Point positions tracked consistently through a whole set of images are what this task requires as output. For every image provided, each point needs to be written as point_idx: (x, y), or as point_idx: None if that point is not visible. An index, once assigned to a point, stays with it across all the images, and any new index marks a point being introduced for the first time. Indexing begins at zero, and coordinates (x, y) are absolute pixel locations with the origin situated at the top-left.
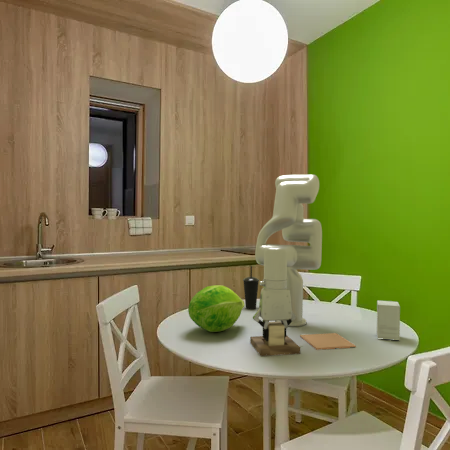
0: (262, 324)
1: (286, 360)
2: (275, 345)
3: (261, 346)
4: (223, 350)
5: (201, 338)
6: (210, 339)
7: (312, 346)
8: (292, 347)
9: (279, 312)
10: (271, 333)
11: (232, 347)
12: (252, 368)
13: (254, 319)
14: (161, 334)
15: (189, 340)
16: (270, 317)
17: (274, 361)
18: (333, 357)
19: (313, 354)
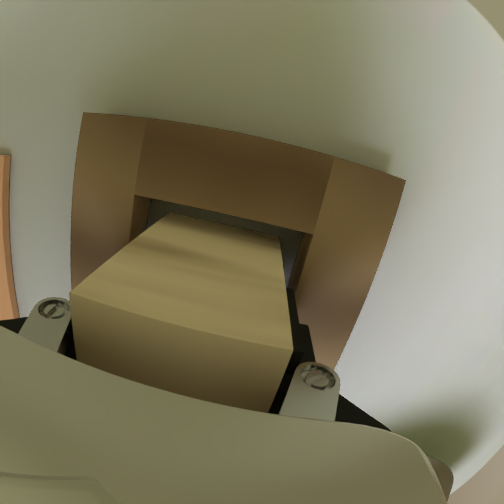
0: (347, 417)
1: (262, 36)
2: (228, 238)
3: (362, 242)
4: (480, 333)
5: (437, 452)
6: (423, 444)
7: (8, 207)
8: (134, 125)
9: (25, 493)
10: (263, 292)
11: (428, 359)
12: (491, 56)
13: (441, 466)
14: (479, 469)
15: (474, 437)
16: (301, 463)
17: (350, 55)
18: (10, 42)
19: (51, 90)
